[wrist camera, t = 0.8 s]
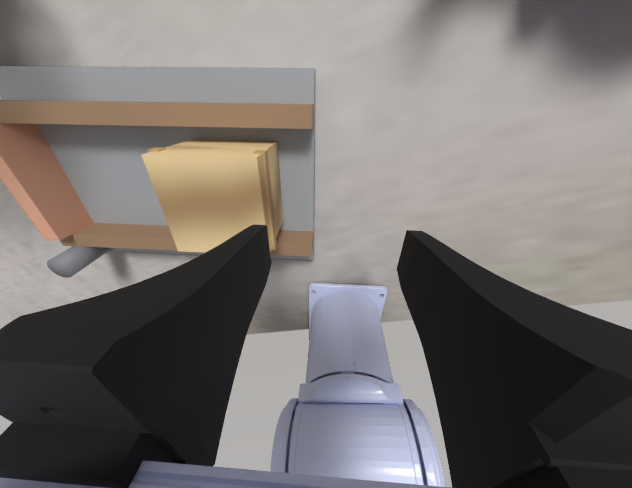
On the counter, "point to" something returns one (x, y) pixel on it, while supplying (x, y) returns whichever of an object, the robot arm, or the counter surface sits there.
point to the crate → (216, 190)
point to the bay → (144, 148)
